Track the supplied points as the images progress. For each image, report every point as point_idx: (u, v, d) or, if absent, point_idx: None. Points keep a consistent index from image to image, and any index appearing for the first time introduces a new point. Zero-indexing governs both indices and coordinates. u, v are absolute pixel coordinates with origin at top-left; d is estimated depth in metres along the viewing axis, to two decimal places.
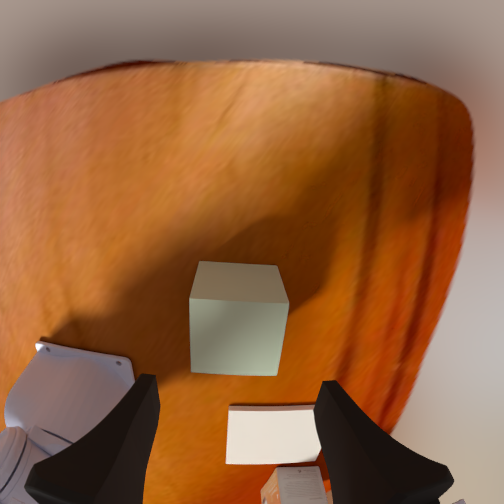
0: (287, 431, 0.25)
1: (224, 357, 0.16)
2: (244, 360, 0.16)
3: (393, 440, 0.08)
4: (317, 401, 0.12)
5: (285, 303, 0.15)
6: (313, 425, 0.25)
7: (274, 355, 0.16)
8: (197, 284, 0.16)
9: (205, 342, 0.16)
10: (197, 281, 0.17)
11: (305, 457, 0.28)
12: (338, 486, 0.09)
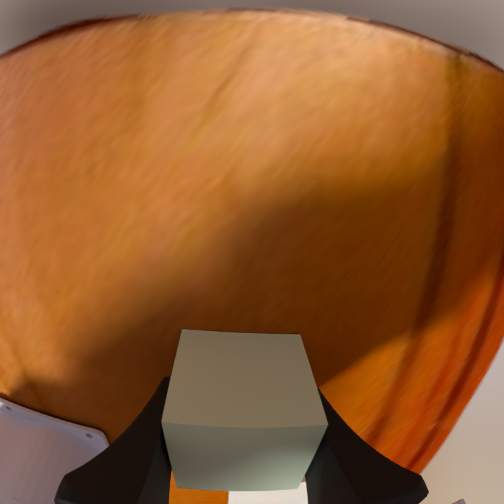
0: (299, 497, 0.18)
1: (223, 478, 0.09)
2: (252, 480, 0.09)
3: (366, 445, 0.08)
4: None
5: (321, 424, 0.08)
6: None
7: (296, 474, 0.09)
8: (176, 387, 0.09)
9: (193, 465, 0.09)
10: (176, 379, 0.09)
11: None
12: (312, 490, 0.09)
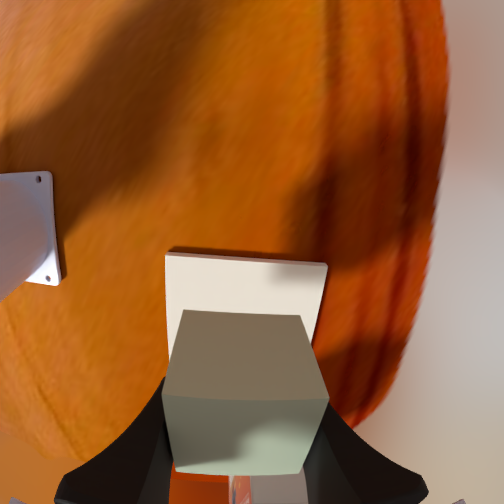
0: (253, 309, 0.20)
1: (224, 460, 0.09)
2: (253, 462, 0.09)
3: (367, 445, 0.08)
4: None
5: (323, 398, 0.08)
6: (292, 301, 0.20)
7: (297, 455, 0.09)
8: (176, 362, 0.09)
9: (193, 445, 0.09)
10: (177, 354, 0.10)
11: None
12: (312, 490, 0.09)
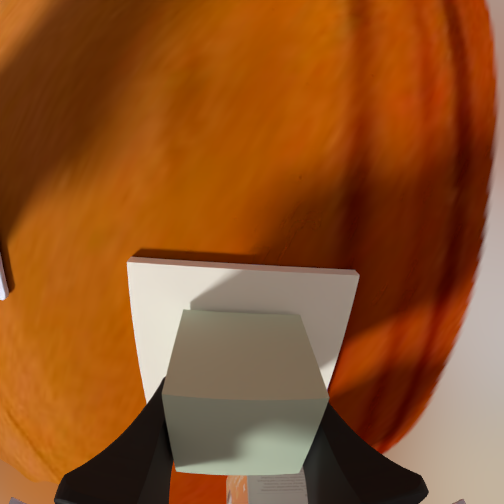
0: None
1: (224, 459, 0.09)
2: (253, 462, 0.09)
3: (366, 445, 0.08)
4: None
5: (323, 397, 0.08)
6: (308, 324, 0.14)
7: (297, 455, 0.09)
8: (177, 362, 0.09)
9: (193, 444, 0.09)
10: (177, 354, 0.10)
11: None
12: (312, 490, 0.09)
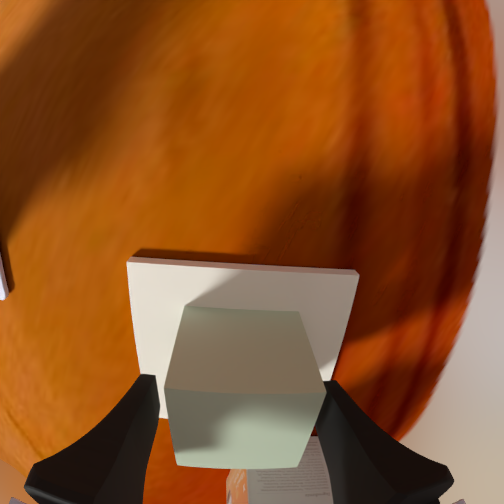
0: None
1: (223, 453, 0.10)
2: (252, 456, 0.10)
3: (393, 440, 0.08)
4: None
5: (320, 392, 0.09)
6: (308, 324, 0.14)
7: (296, 449, 0.10)
8: (178, 357, 0.10)
9: (194, 438, 0.09)
10: (178, 350, 0.10)
11: None
12: (338, 486, 0.09)
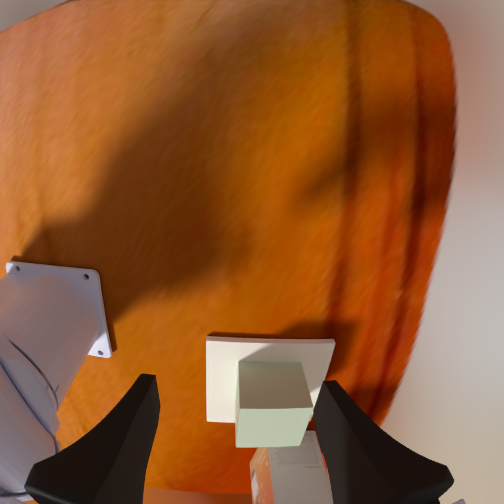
0: None
1: (262, 438, 0.20)
2: (277, 439, 0.20)
3: (393, 440, 0.08)
4: (317, 401, 0.12)
5: (310, 407, 0.19)
6: (306, 367, 0.23)
7: (299, 435, 0.20)
8: (243, 392, 0.20)
9: (249, 431, 0.19)
10: (242, 388, 0.20)
11: None
12: (338, 486, 0.09)
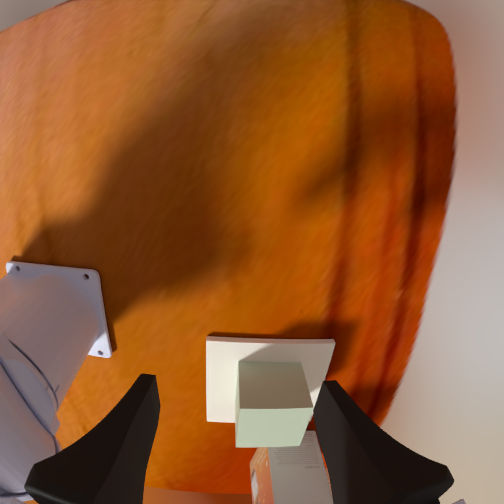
0: None
1: (262, 438, 0.20)
2: (277, 439, 0.20)
3: (393, 440, 0.08)
4: (317, 401, 0.12)
5: (310, 407, 0.19)
6: (306, 367, 0.23)
7: (299, 435, 0.20)
8: (243, 392, 0.20)
9: (249, 431, 0.19)
10: (242, 388, 0.20)
11: None
12: (338, 486, 0.09)
